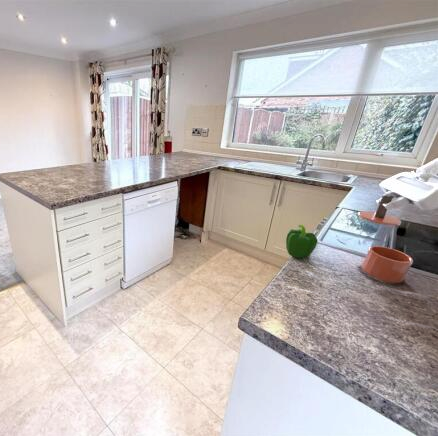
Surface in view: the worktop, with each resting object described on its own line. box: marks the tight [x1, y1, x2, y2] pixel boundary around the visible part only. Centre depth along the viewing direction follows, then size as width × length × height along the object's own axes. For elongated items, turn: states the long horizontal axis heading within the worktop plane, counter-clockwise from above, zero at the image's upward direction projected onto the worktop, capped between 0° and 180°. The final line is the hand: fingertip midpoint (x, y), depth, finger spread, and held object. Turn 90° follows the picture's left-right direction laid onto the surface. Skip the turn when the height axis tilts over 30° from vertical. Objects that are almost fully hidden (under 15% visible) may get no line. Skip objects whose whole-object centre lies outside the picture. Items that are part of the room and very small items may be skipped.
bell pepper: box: [285, 224, 318, 259], centre depth 79 cm, size 8×8×10 cm
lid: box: [357, 193, 402, 226], centre depth 75 cm, size 10×10×8 cm
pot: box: [360, 245, 414, 284], centre depth 71 cm, size 9×9×7 cm
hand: (381, 205), depth 75 cm, fingers closed on lid, 2 cm apart
